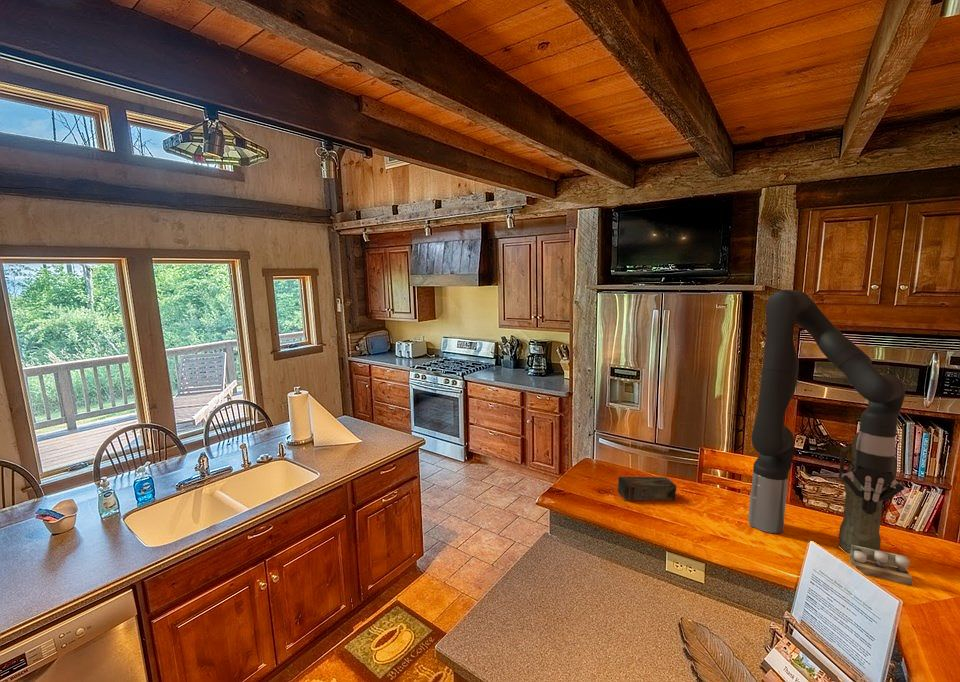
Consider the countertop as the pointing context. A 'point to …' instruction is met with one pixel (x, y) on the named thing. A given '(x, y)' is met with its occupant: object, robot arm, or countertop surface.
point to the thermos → (858, 511)
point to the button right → (901, 563)
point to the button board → (883, 573)
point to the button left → (860, 556)
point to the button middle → (880, 558)
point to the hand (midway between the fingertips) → (868, 512)
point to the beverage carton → (646, 488)
